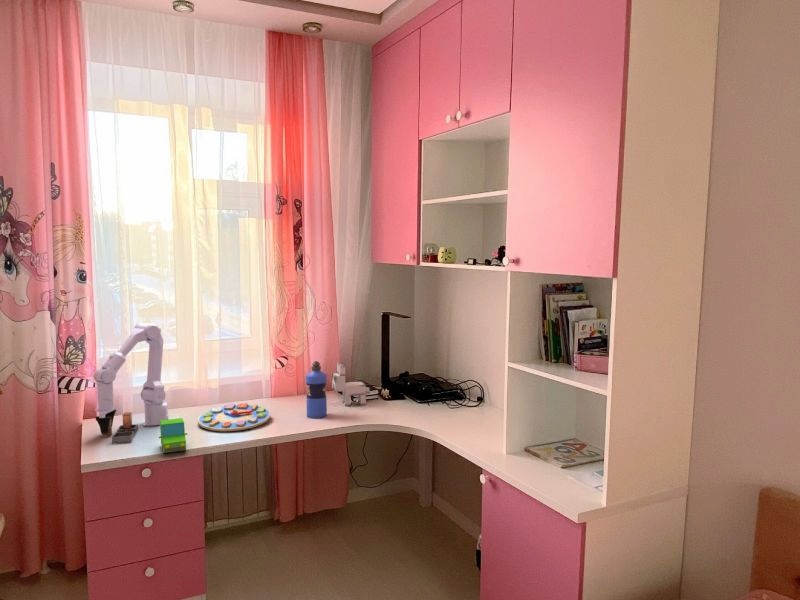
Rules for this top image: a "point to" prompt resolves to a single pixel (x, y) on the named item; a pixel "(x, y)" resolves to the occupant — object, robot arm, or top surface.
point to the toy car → (173, 435)
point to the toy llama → (348, 387)
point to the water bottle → (316, 392)
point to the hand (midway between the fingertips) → (106, 430)
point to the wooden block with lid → (108, 430)
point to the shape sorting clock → (234, 417)
